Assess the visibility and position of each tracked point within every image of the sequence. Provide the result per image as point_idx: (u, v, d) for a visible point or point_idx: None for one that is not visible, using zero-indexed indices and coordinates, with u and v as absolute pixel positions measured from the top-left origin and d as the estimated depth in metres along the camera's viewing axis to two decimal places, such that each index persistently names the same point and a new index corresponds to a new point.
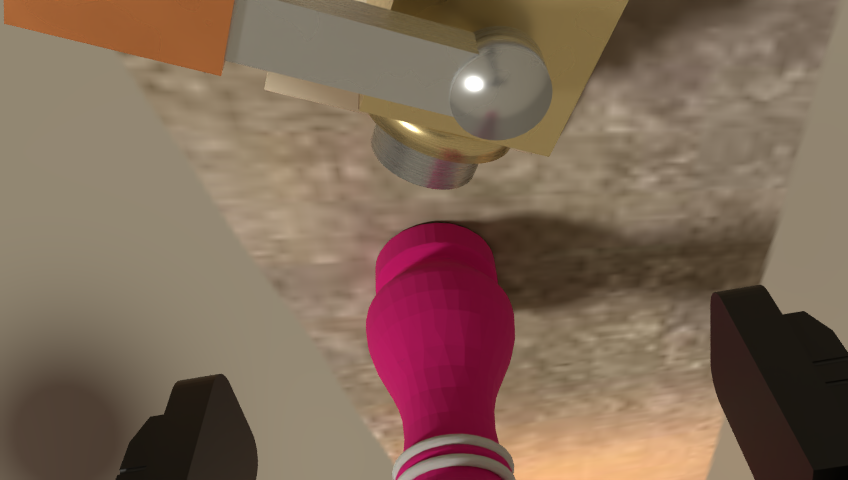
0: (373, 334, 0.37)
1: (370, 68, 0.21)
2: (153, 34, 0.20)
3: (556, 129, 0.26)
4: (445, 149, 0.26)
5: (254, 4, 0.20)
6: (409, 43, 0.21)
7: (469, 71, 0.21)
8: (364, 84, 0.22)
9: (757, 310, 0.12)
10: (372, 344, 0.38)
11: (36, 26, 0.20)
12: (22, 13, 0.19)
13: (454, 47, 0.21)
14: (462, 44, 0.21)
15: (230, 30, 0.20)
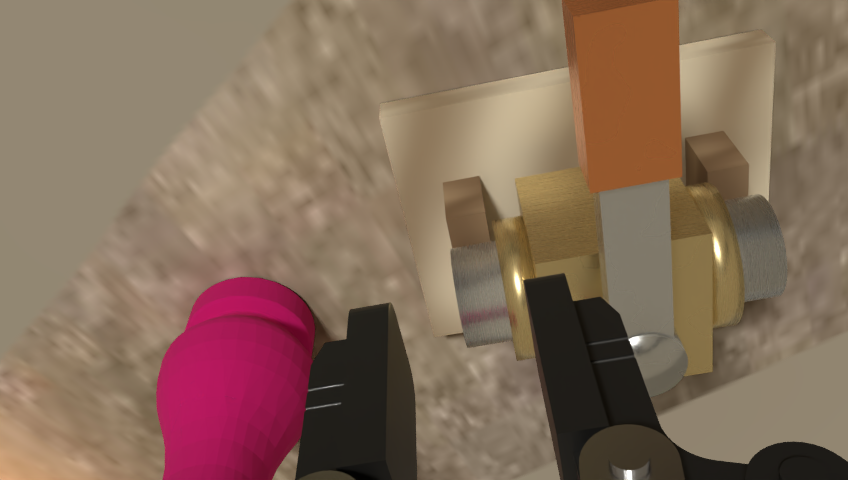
0: (211, 348, 0.34)
1: (634, 282, 0.25)
2: (610, 134, 0.22)
3: None
4: (523, 332, 0.30)
5: (660, 189, 0.23)
6: (666, 296, 0.25)
7: (659, 340, 0.26)
8: (617, 284, 0.25)
9: (552, 295, 0.13)
10: (200, 355, 0.34)
11: (581, 44, 0.21)
12: (590, 30, 0.20)
13: (673, 322, 0.26)
14: None
15: None
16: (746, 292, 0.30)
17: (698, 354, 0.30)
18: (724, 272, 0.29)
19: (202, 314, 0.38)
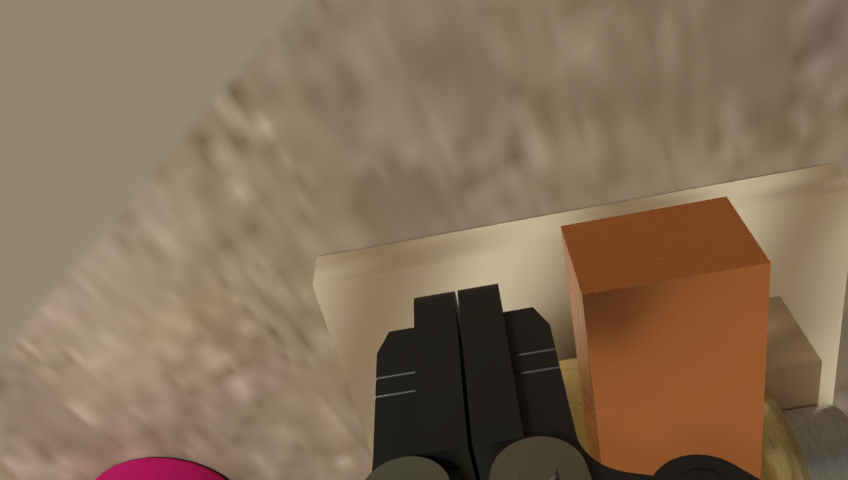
0: None
1: None
2: (644, 452, 0.13)
3: None
4: None
5: None
6: None
7: None
8: None
9: (483, 306, 0.13)
10: None
11: (597, 333, 0.12)
12: (613, 313, 0.11)
13: None
14: None
15: None
16: None
17: None
18: None
19: None
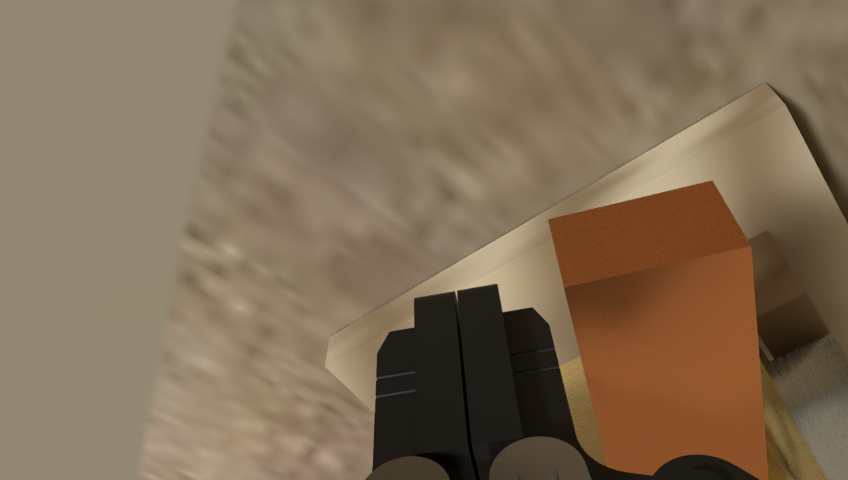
0: None
1: None
2: (645, 438, 0.13)
3: None
4: None
5: None
6: None
7: None
8: None
9: (482, 306, 0.13)
10: None
11: (584, 323, 0.12)
12: (597, 304, 0.12)
13: None
14: None
15: None
16: None
17: None
18: None
19: None
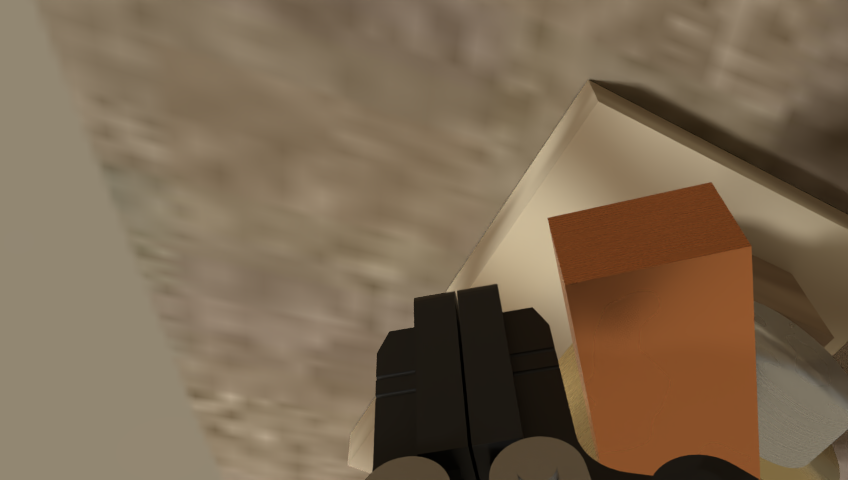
0: None
1: None
2: (640, 439, 0.13)
3: None
4: None
5: None
6: None
7: None
8: None
9: (483, 306, 0.13)
10: None
11: (583, 322, 0.12)
12: (597, 302, 0.12)
13: None
14: None
15: None
16: (800, 458, 0.19)
17: None
18: None
19: None
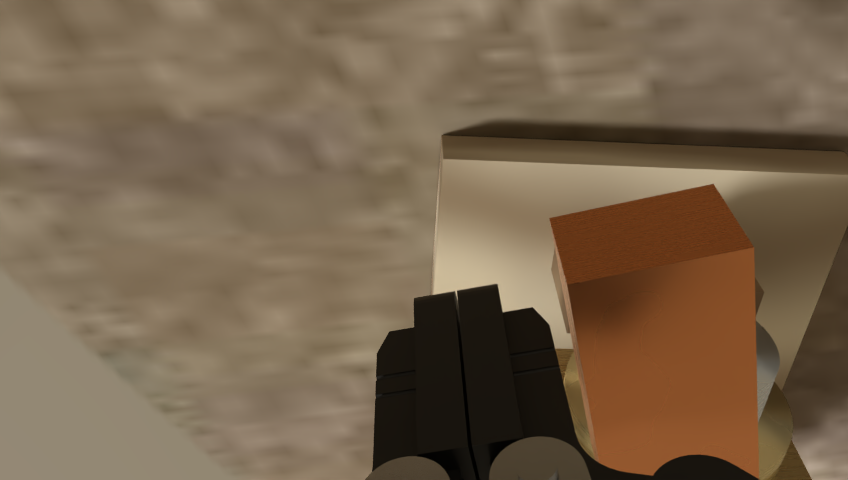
0: None
1: None
2: (639, 440, 0.13)
3: None
4: None
5: None
6: None
7: None
8: None
9: (482, 306, 0.13)
10: None
11: (584, 321, 0.12)
12: (599, 302, 0.12)
13: None
14: None
15: None
16: None
17: None
18: None
19: None
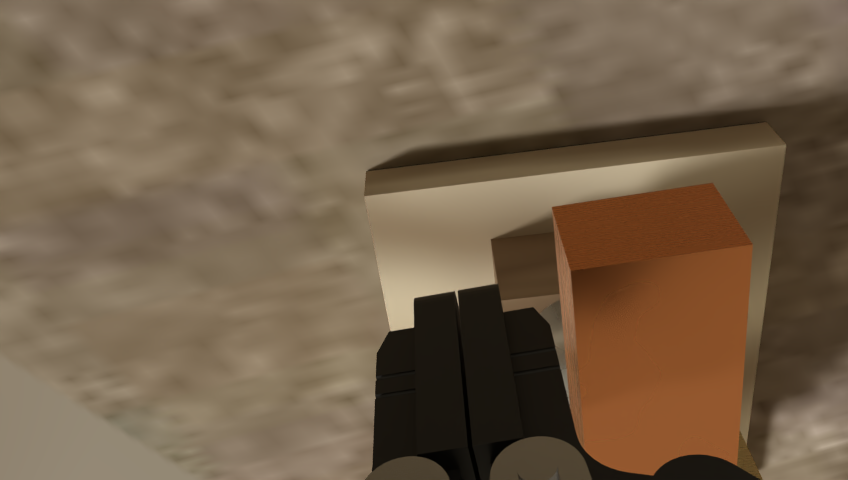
0: None
1: None
2: (626, 429, 0.14)
3: None
4: None
5: None
6: None
7: None
8: None
9: (483, 306, 0.13)
10: None
11: (584, 309, 0.12)
12: (600, 290, 0.12)
13: None
14: None
15: None
16: None
17: None
18: None
19: None
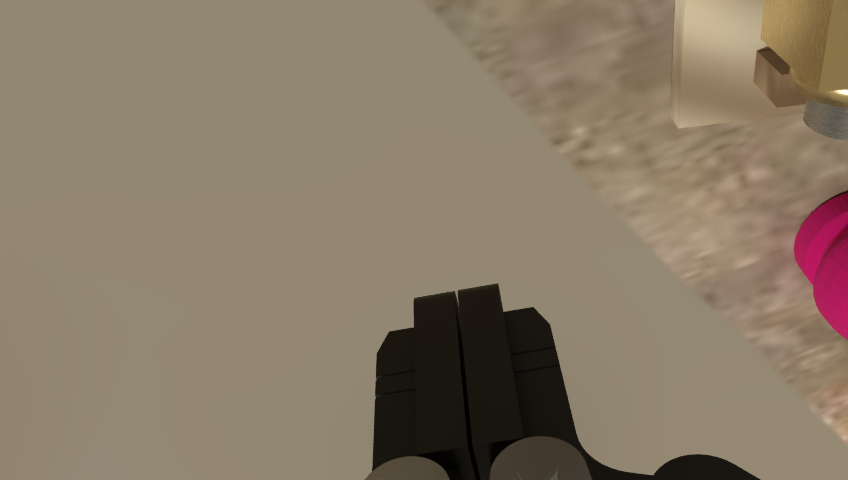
0: (832, 301, 0.42)
1: None
2: None
3: None
4: None
5: None
6: None
7: None
8: None
9: (483, 306, 0.13)
10: (834, 311, 0.42)
11: None
12: None
13: None
14: None
15: None
16: None
17: None
18: None
19: None
